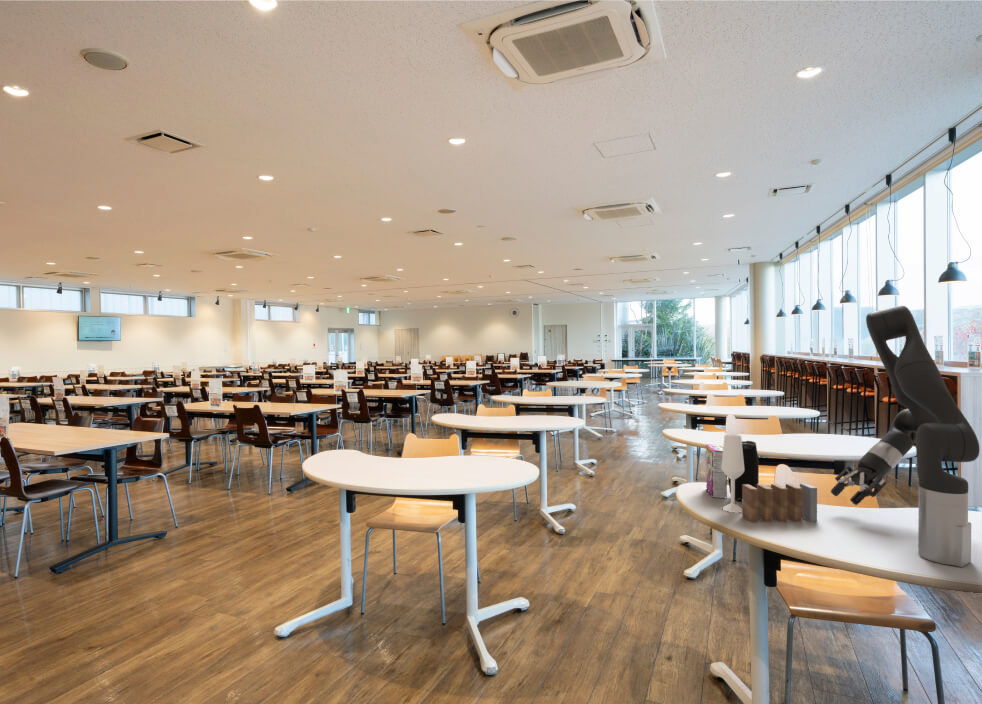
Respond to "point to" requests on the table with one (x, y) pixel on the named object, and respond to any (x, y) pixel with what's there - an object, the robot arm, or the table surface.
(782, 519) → the walnut domino
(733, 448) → the champagne flute
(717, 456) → the candy bar box
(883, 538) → the table surface
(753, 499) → the walnut domino
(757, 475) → the portable speaker
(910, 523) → the table surface
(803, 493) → the grey domino
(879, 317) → the robot arm
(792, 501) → the walnut domino
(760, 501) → the walnut domino
